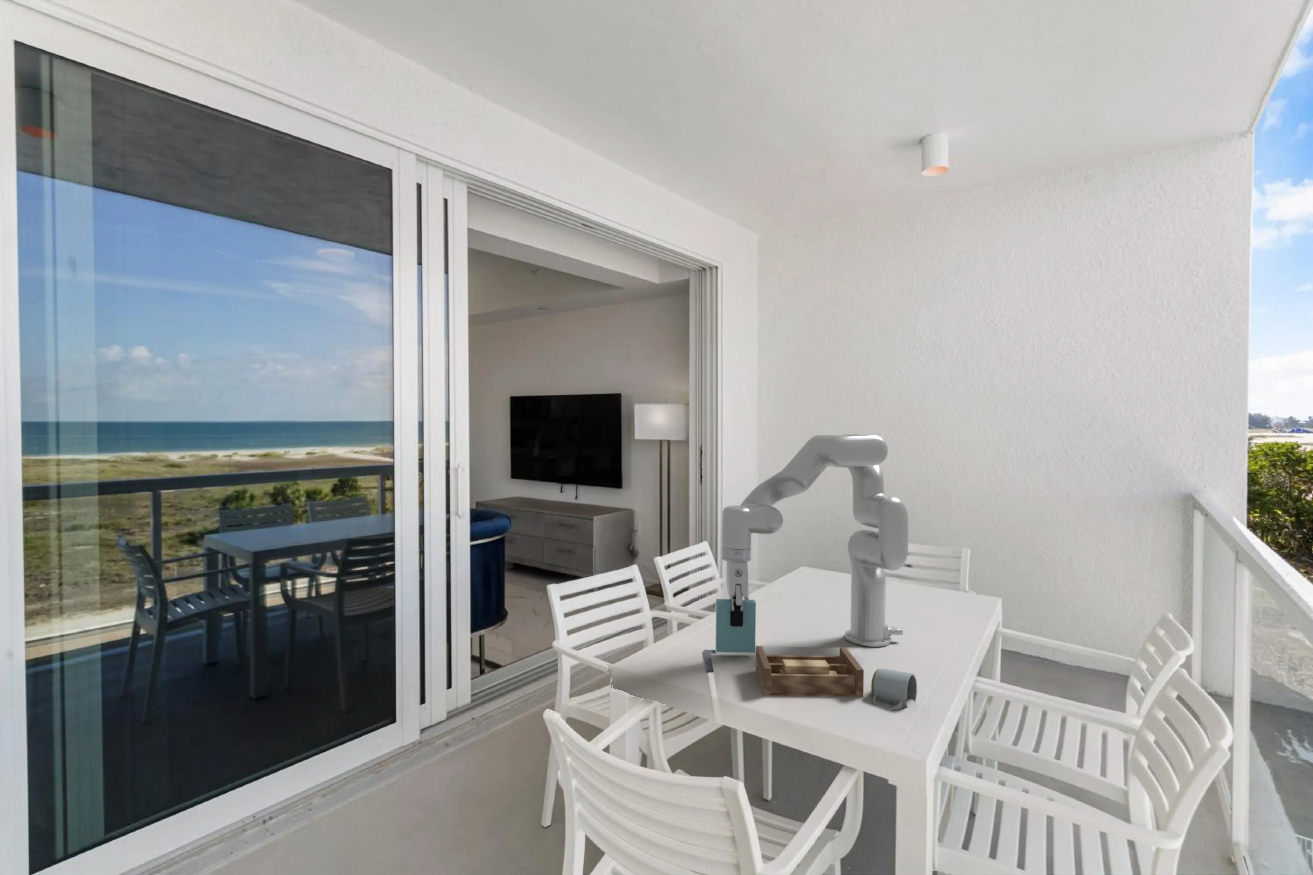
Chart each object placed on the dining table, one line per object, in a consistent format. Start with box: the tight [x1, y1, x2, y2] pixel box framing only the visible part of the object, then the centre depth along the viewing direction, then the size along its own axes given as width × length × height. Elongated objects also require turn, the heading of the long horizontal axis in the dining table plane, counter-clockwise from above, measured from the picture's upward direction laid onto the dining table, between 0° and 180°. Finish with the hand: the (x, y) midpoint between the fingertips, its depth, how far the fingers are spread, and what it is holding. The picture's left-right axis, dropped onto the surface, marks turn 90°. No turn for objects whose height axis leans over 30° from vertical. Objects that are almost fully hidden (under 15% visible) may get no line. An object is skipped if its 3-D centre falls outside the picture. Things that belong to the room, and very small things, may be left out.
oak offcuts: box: [779, 660, 837, 674], centre depth 142 cm, size 13×4×6 cm, turn 89°
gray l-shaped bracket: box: [703, 649, 717, 673], centre depth 161 cm, size 16×14×1 cm
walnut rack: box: [755, 645, 865, 698], centre depth 145 cm, size 22×14×8 cm, turn 89°
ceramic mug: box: [870, 668, 918, 711], centre depth 136 cm, size 11×8×8 cm
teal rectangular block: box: [715, 598, 757, 654], centre depth 161 cm, size 10×3×13 cm, turn 89°
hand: (735, 622), depth 161 cm, fingers closed on teal rectangular block, 3 cm apart
